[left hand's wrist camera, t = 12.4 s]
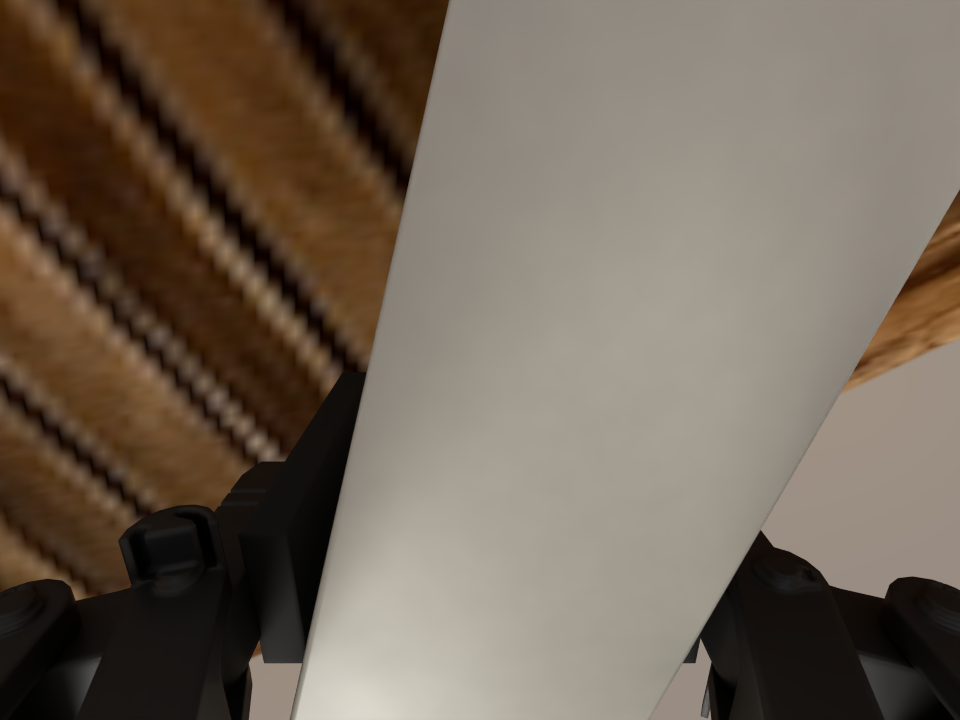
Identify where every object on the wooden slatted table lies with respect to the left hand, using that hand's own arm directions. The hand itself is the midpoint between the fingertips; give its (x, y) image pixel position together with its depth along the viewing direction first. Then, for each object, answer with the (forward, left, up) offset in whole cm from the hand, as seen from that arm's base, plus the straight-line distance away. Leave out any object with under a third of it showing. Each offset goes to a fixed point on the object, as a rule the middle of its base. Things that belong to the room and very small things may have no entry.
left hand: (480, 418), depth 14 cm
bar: (-5, +6, -1) cm, 8 cm away
